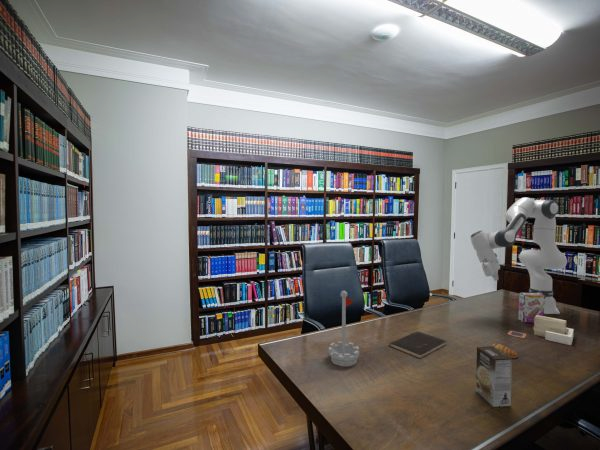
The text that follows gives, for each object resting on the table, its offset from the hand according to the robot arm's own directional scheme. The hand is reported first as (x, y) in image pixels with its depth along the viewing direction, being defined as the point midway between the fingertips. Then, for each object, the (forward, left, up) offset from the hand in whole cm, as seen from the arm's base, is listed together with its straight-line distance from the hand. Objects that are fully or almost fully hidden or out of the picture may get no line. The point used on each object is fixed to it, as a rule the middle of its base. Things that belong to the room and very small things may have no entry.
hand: (496, 280), depth 177 cm
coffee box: (+90, +18, -24) cm, 95 cm away
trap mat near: (+18, +13, -24) cm, 33 cm away
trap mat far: (0, +21, -24) cm, 32 cm away
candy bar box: (-10, +15, -24) cm, 30 cm away
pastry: (+49, +13, -24) cm, 56 cm away
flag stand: (+104, -34, -24) cm, 112 cm away
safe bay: (+9, +29, -24) cm, 39 cm away
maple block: (+9, +25, -24) cm, 36 cm away
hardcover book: (+67, -18, -24) cm, 73 cm away
